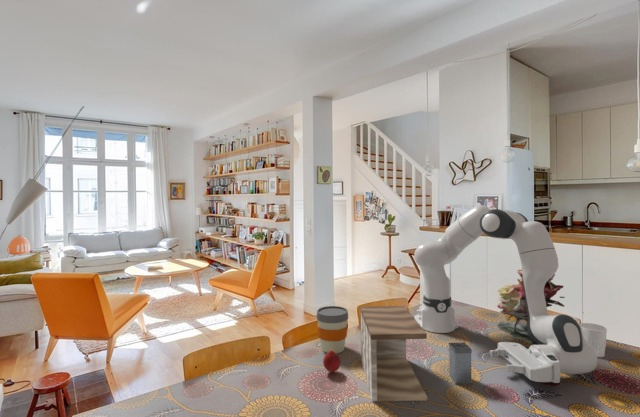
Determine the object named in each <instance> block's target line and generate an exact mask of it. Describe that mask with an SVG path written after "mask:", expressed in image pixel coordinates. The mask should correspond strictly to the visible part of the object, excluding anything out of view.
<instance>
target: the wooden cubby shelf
mask: <svg viewBox="0 0 640 417" xmlns="http://www.w3.org/2000/svg"><path fill="white" fill-rule="evenodd" d="M427 337H428V336H427V331H426V330H424V329H422V327H421V326H420V325H419V324H418V322H417V321H416V320H415V318H414V315H412V313H411V312H410V311H409V310H408V309H407V307H406V306H405V305H391V306H390V305H386V306H385V305H384V306H383V305H381V306H380V305H379V306H376V305H375V306H360V358H361V364H362V367H363V372H364V376H365V380H366V384H367V387H368V391H369V395H370V400H371V402H407V401H408V402H410V401H411V402H412V401H415V402H416V401H417V402H418V401H421V402H423V401H428V395H427V394H426V392H425V390H424V388H423V386H422V385H421V383H420V381H419V380H418V377H417V375H416V374H415V372H414V369H413V368H412V366H411V365H410V363H409V361H408V359H407V340H427Z"/></svg>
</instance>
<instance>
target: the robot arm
mask: <svg viewBox="0 0 640 417" xmlns="http://www.w3.org/2000/svg"><path fill="white" fill-rule="evenodd" d="M484 234H485V235H486V236H488V237H490V238H493V239H499V240H512V241H513V242H514V243H515V246H516V248H517V251H518V254H519V259H520V263H521V270H522V282H523V290H524V295H525V301H526V307H527V314H528V317H527V322H526V325H527V332H528V334H529V336H530V337H531V339H532V340H533V341H534V342H533V343H536V344H531V345H529V347H528V348H527V347H526V346H524V345H523V344H521V343H518V342H511V341H500V342H497V348H495V349H490V350H489V356H490V357H492V358H498V356H500V357H503V358H504V359H505V360H506V361H507V362H509V363H507V362H506V363H505V364H504V369H505V370H506V371H507V372H513V373H514V372H515V373H518V374H523V376H525V377H527V379H529V381H533V382H537V383H554V384H559V383H560V382H561V374H565V375H581V374H587V373H588V374H589V373H590V372H592V371H594V370H595V369H596V368H597V366H598V363H599V362H598V360H599V359H598V357H597V355H596V352H595V351H594V349H593V348H592V347H590V346H589V345H588V344H587V342H586V341H585V339H584V337H583V335H582V332H581V328H580V323H578V321H577V320H576V318H575V319H574V318H573V316H570V315H567V314H549V312H548V307H546V301H545V296H544V286H545V284H546V282H547V281H548V280H549V278H550V277H552V276H553V275H554V274H555V275H556V273H557V271H558V269H559V258H558V253H557V250H556V248H555V245H554V242H553V239H552V238H551V235H550V234H549V232H548V230H547V228H546V226H545V225H544V224H543V223H542V222H539V221H536V220H531V221H530V220H529V219H528V218H527V217H526V216H524V215H523V214H522V213H519V212H515V211H513V210H508V209H498V208H495V209H494V208H493V209H490V208H489V207H487V206H486V205H482V204H479V205H476V206H473V207H471V209H469V210H467V211H465V212H464V213H463V214H462V215H461V216H459V217H458V218H457V219H455V221H454V222H452V223H451V224H450V225H448V226H447V228H446V229H445V231H444V233H443V234H442V236H441V237H440V238H439V239H437V240H435V241H431V242H426V243H423V244H420V245H419V246H418V247H417V248H416V249H415V251H414V254H413V255H414V260H415V262H416V264H417V265H418V266H419V267H420V269H421V272H422V276H423V286H424V288H423V289H424V291H423V292H424V294H423V297H422V304H421V305H420V306H419V307H418V309H416V310H415V313H416V314H415V315H413V317H414V318H415V320H416V321H417V322H418V324H419V325H420V326H421V327H422V329H423V330H424V331H426V332H427V331H428V332H431V333H436V334H437V333H438V334H447V333H451V332H452V333H453V332H454V331H455V330H456V329H459V327H460V326H459V324H458V323H456V312H455V309H454V307H452V301H453V300H452V297H451V279H450V278H449V277H448V276H447V274H446V271H445V269H446V268H445V265H448V264H451V263H452V262H453V261H455V260H456V259H457V258H458V256H460V254H461V253H462V252H463V251H464V250H465V249H466V248H467V247H469V245H471V244H472V243H473V242H474V241H476V240H477V239H478V238H480V237H481V236H482V235H484Z"/></svg>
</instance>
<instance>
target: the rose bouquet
mask: <svg viewBox="0 0 640 417" xmlns="http://www.w3.org/2000/svg"><path fill="white" fill-rule="evenodd" d="M516 272H517V274H518V275H519V277H520V278H517V282H518V284H505V285H503V287H501V288H500V289H497V290H498V292H497V293H498V294H497V296H498V299H497V300H498V301H499V303H498V304H497V308H498V309H501V310H500V311H499V313H501V314H503V315H508V316H509V317H508V316H507V317H506V319H505V320H506V321H505V320H501V321H500V322H498V324H497V327H498V329H500V330H502V331H504V332H506V333H507V334H509V335H511V336H512V338H513V339H516V338H519V339H521V340H524V341H525V343H528V344H534V343H535V342H534V341H533V340H532V339H531V337H530V336H529V334H528V332H527V317H528V314H527V307H526V301H525V295H524V290H523V282H522V269H518V270H517V271H516ZM555 277H556V273H555V274H554V275H553V276H552V277H550V278H549V280H548V281H547V282H546V284H545V286H544V296H545V301H546V307H547V308H548V307H552V306H553V304H554V305H556V306H560V307H563V308H564V307H565V304H563V303H562V302H560V301H558V300H555V299H552V298H554V296H555V295H557V293H558V292H559V291H560V290H561V289H564V285H560V284H558V285H557V284H555V283H554V282H552V281H553V280H554V278H555ZM565 298H566V297H565V296H559V299H565ZM582 314H584V312H582ZM513 317H514V318H515V319H516V320H515V322H512V321H511V319H510V318H513ZM510 321H511V322H510ZM521 321H525V322H526V324H524V323H520V322H521ZM525 339H526V340H525Z"/></svg>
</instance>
